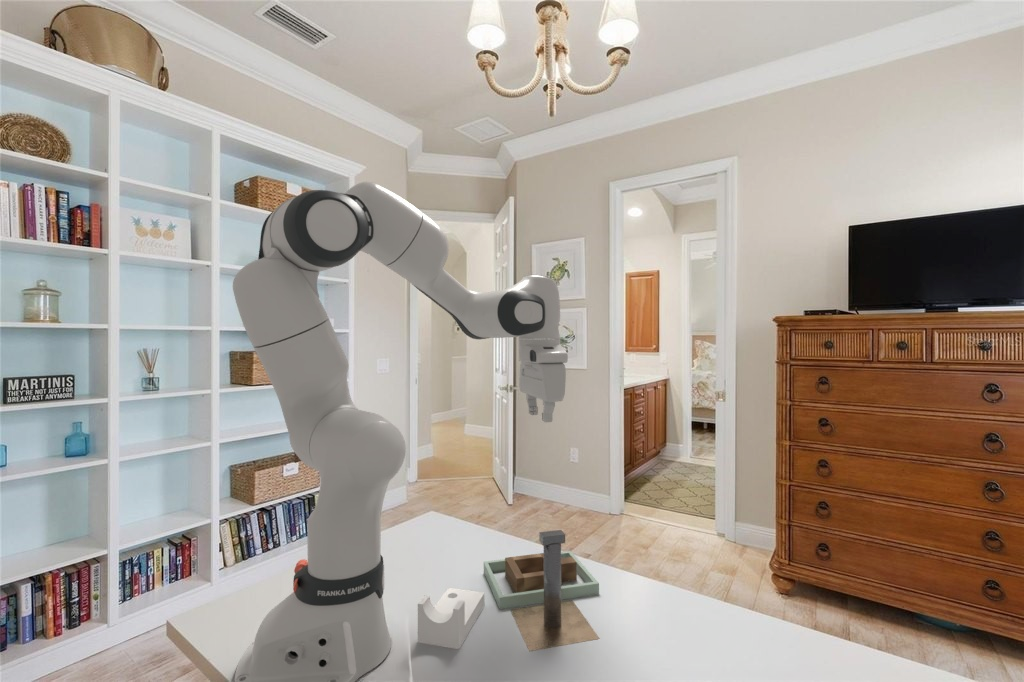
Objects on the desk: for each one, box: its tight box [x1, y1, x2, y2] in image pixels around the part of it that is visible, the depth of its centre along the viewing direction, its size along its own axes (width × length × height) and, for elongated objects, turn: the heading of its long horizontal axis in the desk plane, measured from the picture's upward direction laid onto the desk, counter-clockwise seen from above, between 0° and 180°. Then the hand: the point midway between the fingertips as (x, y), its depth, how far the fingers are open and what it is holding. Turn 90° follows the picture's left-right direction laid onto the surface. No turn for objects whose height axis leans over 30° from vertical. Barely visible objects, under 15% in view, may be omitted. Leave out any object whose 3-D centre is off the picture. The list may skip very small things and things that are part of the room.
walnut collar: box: [504, 552, 578, 593], centre depth 97 cm, size 14×9×4 cm, turn 105°
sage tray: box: [483, 550, 600, 610], centre depth 97 cm, size 20×15×3 cm
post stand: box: [509, 529, 600, 652], centre depth 83 cm, size 12×12×16 cm
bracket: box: [417, 587, 485, 650], centre depth 83 cm, size 13×7×8 cm, turn 165°
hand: (539, 418), depth 102 cm, fingers open, 8 cm apart
